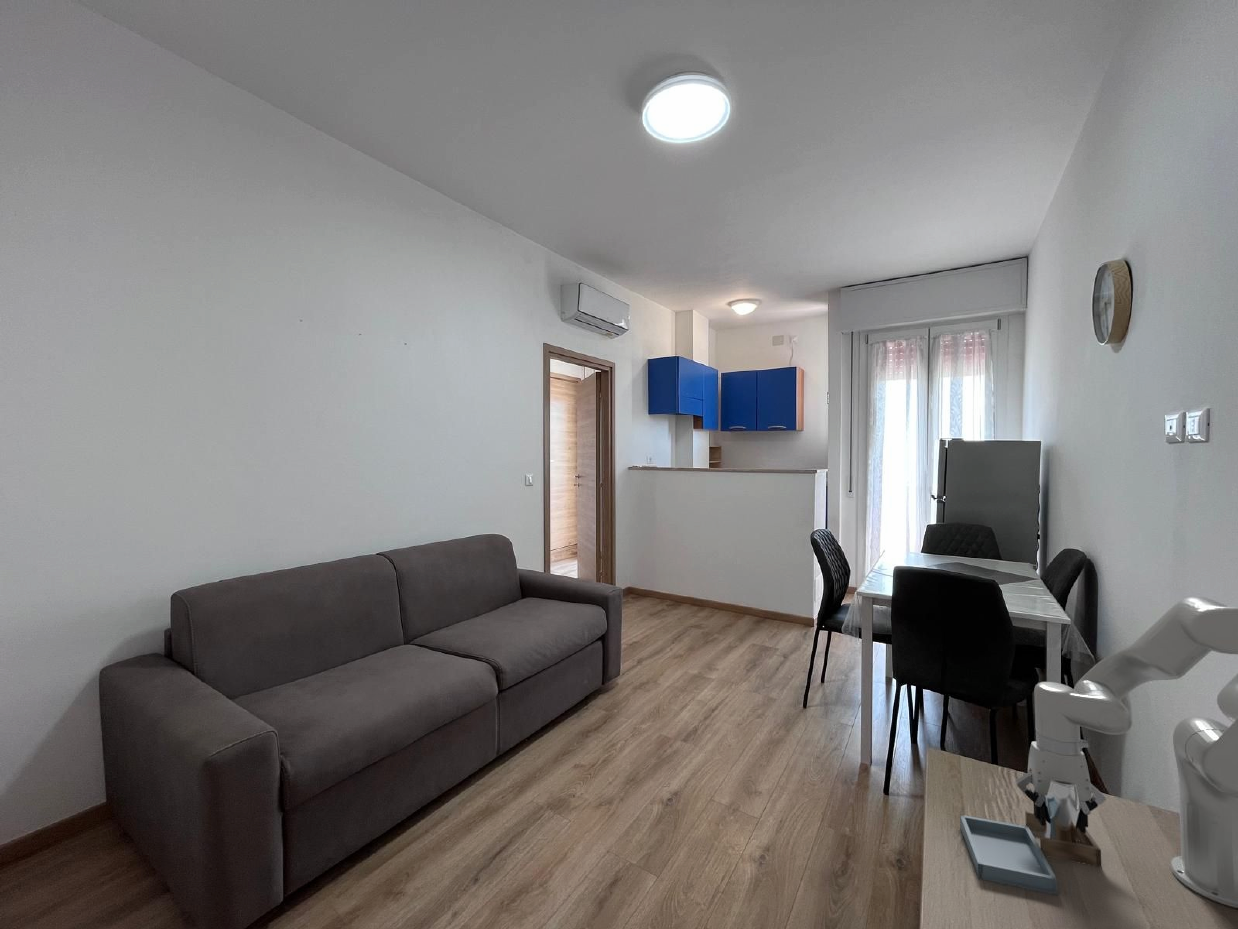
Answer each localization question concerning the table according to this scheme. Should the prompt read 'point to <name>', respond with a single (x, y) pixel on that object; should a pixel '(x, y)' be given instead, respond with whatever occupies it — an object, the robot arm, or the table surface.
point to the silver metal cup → (1062, 812)
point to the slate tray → (1007, 854)
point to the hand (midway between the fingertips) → (1060, 824)
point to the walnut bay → (1067, 845)
